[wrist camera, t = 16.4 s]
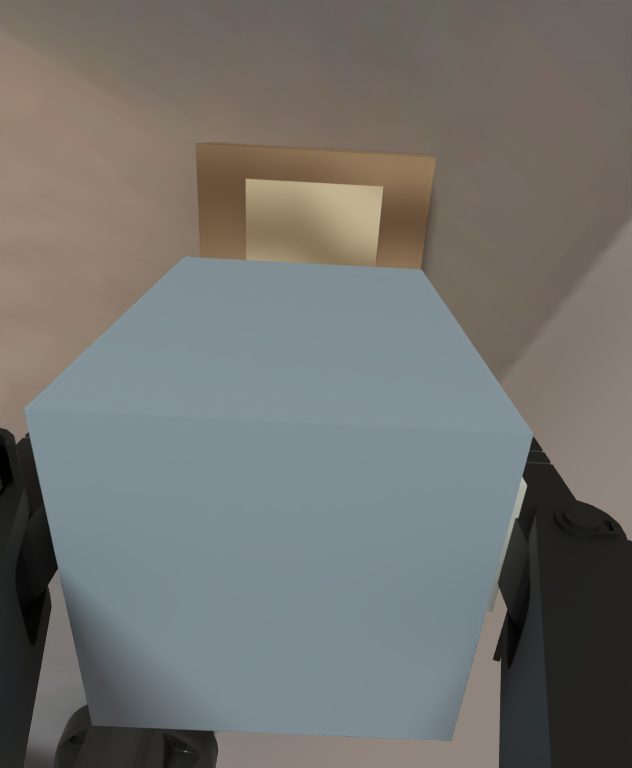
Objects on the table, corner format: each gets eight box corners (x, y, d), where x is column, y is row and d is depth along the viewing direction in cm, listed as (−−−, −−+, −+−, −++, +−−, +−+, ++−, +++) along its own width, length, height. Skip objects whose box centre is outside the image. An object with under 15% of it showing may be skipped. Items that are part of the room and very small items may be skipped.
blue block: (394, 466, 16) (450, 740, 9) (195, 456, 16) (92, 725, 9) (421, 269, 13) (533, 433, 6) (184, 256, 13) (23, 408, 6)
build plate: (386, 459, 38) (391, 486, 35) (217, 450, 38) (209, 477, 35) (425, 154, 29) (436, 157, 26) (207, 142, 29) (195, 143, 26)
